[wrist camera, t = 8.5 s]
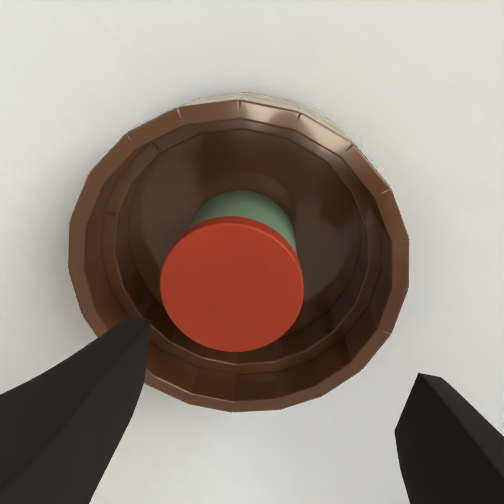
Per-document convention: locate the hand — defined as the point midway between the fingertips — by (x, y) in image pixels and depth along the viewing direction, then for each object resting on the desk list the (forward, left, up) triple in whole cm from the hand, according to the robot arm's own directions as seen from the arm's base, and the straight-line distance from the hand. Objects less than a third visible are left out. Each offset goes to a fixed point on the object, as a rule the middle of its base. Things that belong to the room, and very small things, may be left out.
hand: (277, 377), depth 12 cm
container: (0, +2, -8) cm, 8 cm away
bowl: (0, +2, -9) cm, 9 cm away
